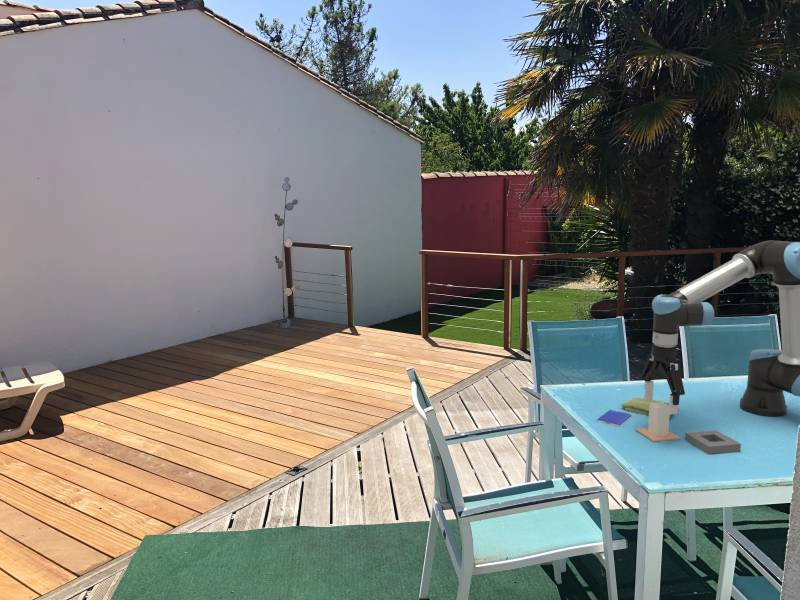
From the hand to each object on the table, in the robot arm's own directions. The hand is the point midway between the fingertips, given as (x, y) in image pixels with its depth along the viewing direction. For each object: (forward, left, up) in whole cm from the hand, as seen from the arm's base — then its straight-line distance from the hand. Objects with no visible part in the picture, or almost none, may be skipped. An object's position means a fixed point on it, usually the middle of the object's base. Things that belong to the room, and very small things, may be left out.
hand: (660, 406), depth 199 cm
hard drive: (+7, -16, -11) cm, 20 cm away
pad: (0, 0, -10) cm, 10 cm away
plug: (0, 0, -9) cm, 9 cm away
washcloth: (-11, -22, -11) cm, 27 cm away
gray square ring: (-12, +11, -10) cm, 19 cm away
